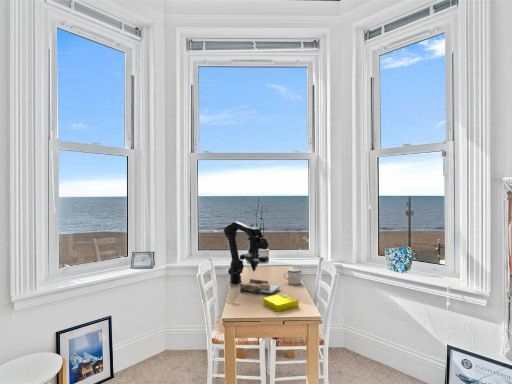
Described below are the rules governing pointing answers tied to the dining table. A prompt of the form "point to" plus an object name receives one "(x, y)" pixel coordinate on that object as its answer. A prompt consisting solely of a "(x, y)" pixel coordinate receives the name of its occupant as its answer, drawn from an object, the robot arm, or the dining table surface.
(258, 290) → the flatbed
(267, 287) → the cube with rounded ends
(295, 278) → the teacup with lid
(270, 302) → the element tile
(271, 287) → the tailgate
